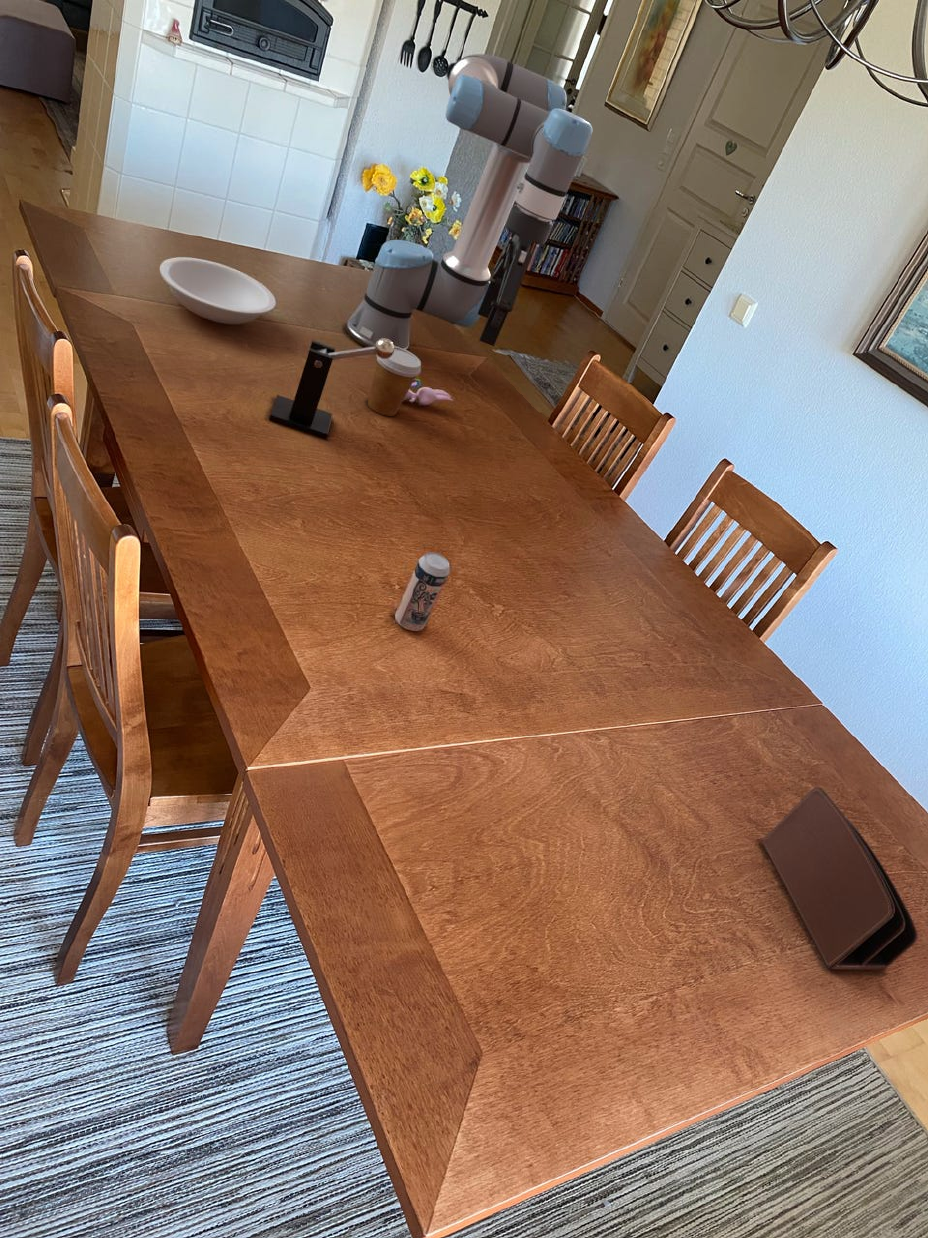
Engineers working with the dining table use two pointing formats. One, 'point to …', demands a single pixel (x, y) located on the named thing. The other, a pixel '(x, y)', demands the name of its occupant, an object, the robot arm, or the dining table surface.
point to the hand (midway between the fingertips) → (485, 329)
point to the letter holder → (839, 887)
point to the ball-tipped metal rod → (366, 350)
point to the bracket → (307, 396)
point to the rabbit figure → (426, 394)
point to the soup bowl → (216, 290)
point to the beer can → (422, 591)
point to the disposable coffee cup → (393, 381)
